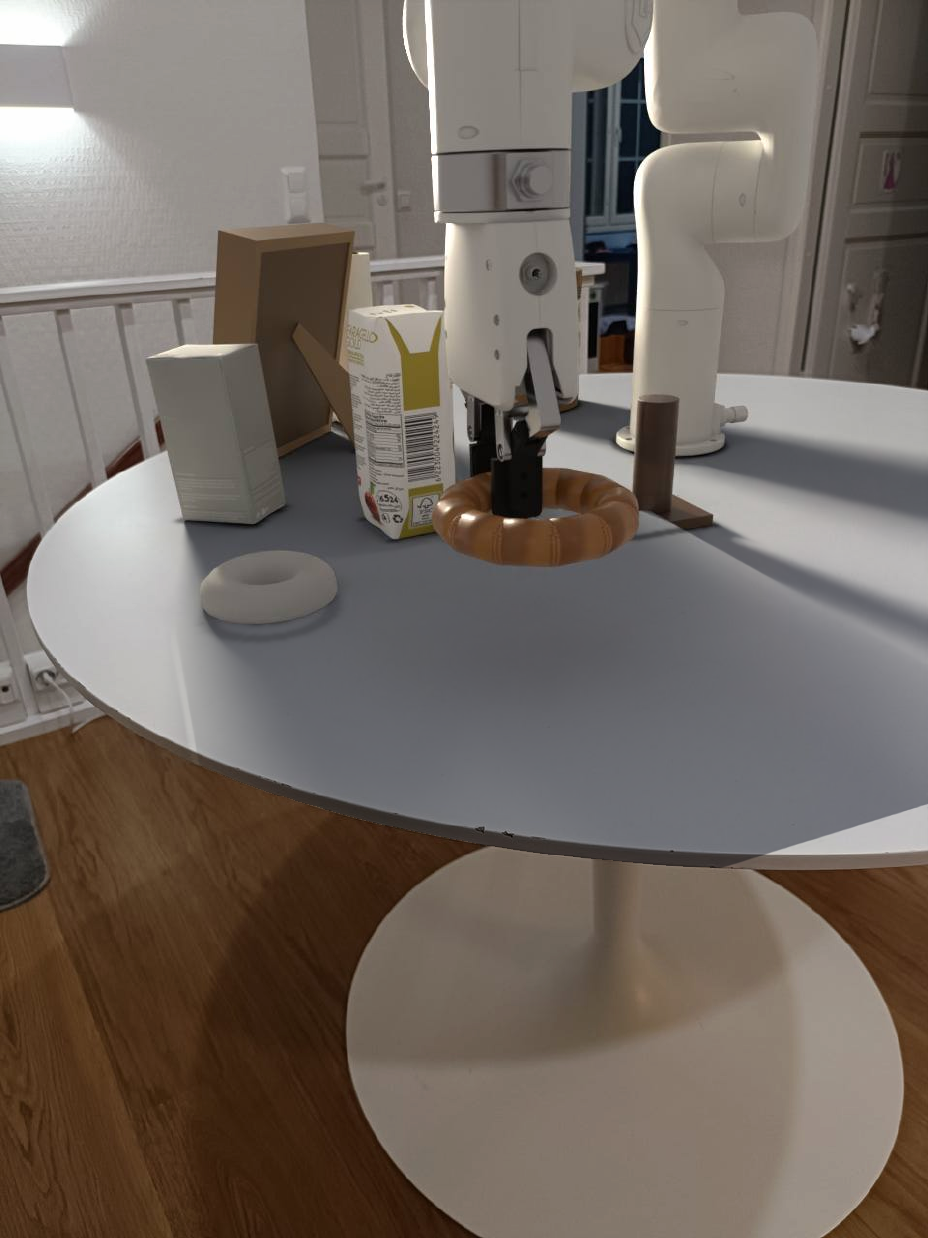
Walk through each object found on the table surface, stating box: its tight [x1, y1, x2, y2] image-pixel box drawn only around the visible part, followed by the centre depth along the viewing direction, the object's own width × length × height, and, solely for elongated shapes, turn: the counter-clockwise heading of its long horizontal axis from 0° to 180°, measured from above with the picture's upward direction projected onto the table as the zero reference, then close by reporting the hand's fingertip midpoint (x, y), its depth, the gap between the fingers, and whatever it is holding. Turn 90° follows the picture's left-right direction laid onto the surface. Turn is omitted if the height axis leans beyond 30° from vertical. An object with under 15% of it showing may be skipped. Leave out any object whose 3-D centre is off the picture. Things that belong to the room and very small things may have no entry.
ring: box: [432, 467, 640, 568], centre depth 52 cm, size 12×12×3 cm
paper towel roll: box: [333, 250, 374, 423], centre depth 116 cm, size 7×6×21 cm
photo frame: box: [212, 222, 356, 459], centre depth 100 cm, size 15×22×25 cm
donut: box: [199, 550, 339, 625], centre depth 65 cm, size 10×4×10 cm
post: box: [631, 394, 714, 530], centre depth 79 cm, size 8×8×11 cm
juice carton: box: [347, 303, 457, 540], centre depth 78 cm, size 8×9×19 cm
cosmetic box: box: [145, 344, 287, 525], centre depth 82 cm, size 8×7×16 cm
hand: (505, 506), depth 56 cm, fingers closed on ring, 2 cm apart
